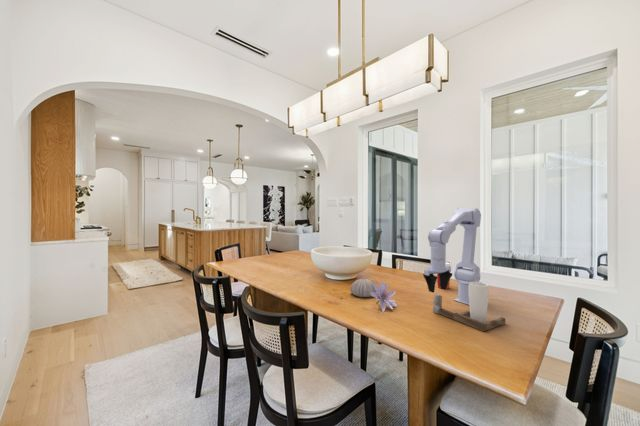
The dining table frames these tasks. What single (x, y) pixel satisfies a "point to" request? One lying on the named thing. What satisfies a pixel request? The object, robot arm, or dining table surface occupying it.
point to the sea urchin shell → (362, 288)
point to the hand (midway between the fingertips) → (437, 290)
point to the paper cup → (439, 277)
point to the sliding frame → (465, 316)
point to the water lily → (383, 296)
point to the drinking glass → (478, 300)
